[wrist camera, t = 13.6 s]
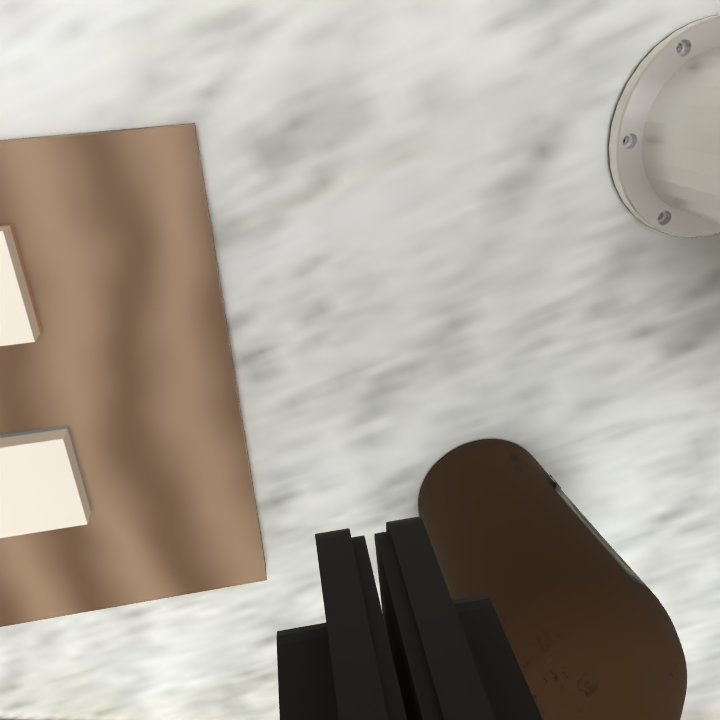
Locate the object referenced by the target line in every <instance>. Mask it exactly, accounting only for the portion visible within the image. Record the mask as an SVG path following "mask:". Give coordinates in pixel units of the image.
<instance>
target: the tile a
mask: <svg viewBox="0 0 720 720" xmlns="http://www.w3.org/2000/svg"><path fill="white" fill-rule="evenodd" d="M41 332H42V329H41V325H40V322H39V318H38V315H37V311H36V307H35V304H34V300H33V297H32V293H31V290H30V286H29V283H28V279H27V275H26V272H25V268H24V265H23V261H22V258H21V254H20V250H19V247H18V243H17V240H16V236H15V233H14V229H13V226H12V224H6V225H0V346H6V345H14V344H22V343H30V342H35V341H36V339H37V338H38V337H39V335H40V334H41Z"/></svg>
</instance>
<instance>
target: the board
mask: <svg viewBox="0 0 720 720" xmlns="http://www.w3.org/2000/svg"><path fill="white" fill-rule="evenodd" d="M6 224H12V226H13V229H14V233H15V236H16V240H17V243H18V247H19V250H20V254H21V258H22V261H23V265H24V268H25V272H26V275H27V279H28V283H29V286H30V290H31V293H32V297H33V300H34V304H35V307H36V311H37V315H38V318H39V322H40V325H41V329H42V332H41V334H40V335H39V337H38V338H37V339H36V341H35V342H30V343H22V344H14V345H6V346H0V435H4V434H11V433H18V432H25V431H32V430H39V429H46V428H53V427H60V426H67V425H69V428H70V431H71V435H72V438H73V442H74V445H75V449H76V453H77V456H78V460H79V463H80V467H81V470H82V474H83V478H84V481H85V485H86V488H87V492H88V495H89V499H90V502H91V506H92V511H91V514H90V518H89V521H88V524H86V525H80V526H74V527H67V528H61V529H55V530H49V531H42V532H36V533H30V534H24V535H17V536H11V537H5V538H0V627H2V626H8V625H14V624H20V623H25V622H31V621H37V620H42V619H48V618H54V617H59V616H65V615H71V614H77V613H82V612H88V611H94V610H99V609H105V608H111V607H116V606H122V605H128V604H134V603H139V602H145V601H151V600H156V599H162V598H168V597H173V596H179V595H185V594H190V593H196V592H202V591H208V590H213V589H219V588H225V587H230V586H236V585H242V584H247V583H253V582H259V581H265V580H267V576H266V564H265V558H264V552H263V545H262V539H261V533H260V527H259V521H258V514H257V508H256V502H255V496H254V489H253V483H252V477H251V471H250V465H249V458H248V452H247V446H246V440H245V433H244V427H243V421H242V415H241V409H240V402H239V396H238V390H237V384H236V378H235V371H234V365H233V359H232V353H231V346H230V340H229V334H228V328H227V322H226V315H225V309H224V303H223V297H222V290H221V284H220V278H219V272H218V266H217V259H216V253H215V247H214V241H213V235H212V228H211V222H210V216H209V210H208V203H207V197H206V191H205V185H204V179H203V172H202V166H201V160H200V154H199V147H198V141H197V135H196V129H195V123H191V124H180V125H168V126H157V127H146V128H134V129H123V130H112V131H100V132H89V133H78V134H66V135H55V136H44V137H32V138H21V139H10V140H0V225H6Z"/></svg>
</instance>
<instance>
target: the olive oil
mask: <svg viewBox="0 0 720 720" xmlns="http://www.w3.org/2000/svg"><path fill="white" fill-rule="evenodd" d="M549 475H550V474H549ZM549 475H548V474H547V473H546V471H545V470H544V469H543V468H542V467H541V465H540V464H539V463H538V462H537V461H536V459H535V458H534V457H533V456H532V455H531V454H530V453H529V452H527V451H526V450H525V449H523V448H522V447H520V446H518V445H516V444H514V443H511V442H507V441H502V440H482V441H476V442H472V443H469V444H466V445H464V446H461V447H459V448H457V449H455V450H453V451H452V452H450V453H449V454H447V455H446V456H445V457H443V458H442V459H441V460H440V461H439V462H438V463H437V464H436V465H435V466H434V467H433V468H432V469H431V471H430V472H429V474H428V475H427V477H426V479H425V480H424V482H423V485H422V487H421V490H420V494H419V502H418V507H419V515H420V517H421V518H422V520H423V522H424V525H425V528H426V530H427V533H428V536H429V539H430V541H431V544H432V547H433V550H434V552H435V555H436V558H437V560H438V563H439V566H440V569H441V571H442V574H443V577H444V580H445V582H446V585H447V588H448V591H449V593H450V596H451V599H452V600H455V599H461V598H466V597H472V596H478V595H483V594H486V595H487V596H488V597H489V599H490V601H491V603H492V605H493V607H494V609H495V611H496V613H497V616H498V618H499V620H500V623H501V625H502V627H503V630H504V632H505V634H506V636H507V639H508V641H509V643H510V646H511V648H512V650H513V652H514V655H515V657H516V659H517V662H518V664H519V666H520V668H521V671H522V673H523V675H524V678H525V680H526V682H527V685H528V687H529V689H530V691H531V694H532V696H533V698H534V701H535V703H536V705H537V707H538V710H539V712H540V714H541V717H542V719H543V720H680V718H681V714H682V710H683V705H684V701H685V695H686V688H687V668H686V661H685V656H684V652H683V649H682V646H681V643H680V640H679V638H678V635H677V632H676V630H675V627H674V625H673V623H672V621H671V619H670V617H669V615H668V613H667V612H666V610H665V609H664V607H663V606H662V604H661V603H660V601H659V600H658V598H657V597H656V596H655V595H654V594H653V593H652V591H651V590H650V589H649V588H648V587H647V586H646V585H645V584H644V583H643V581H642V580H641V579H640V578H639V577H638V576H637V575H636V574H635V573H634V571H633V570H632V569H631V568H630V567H629V566H628V565H627V564H626V563H625V561H624V560H623V559H622V558H621V557H620V556H619V555H618V554H617V553H616V551H615V550H614V549H613V548H612V547H611V546H610V545H609V544H608V543H607V541H606V540H605V539H604V538H603V537H602V536H601V535H600V534H599V532H598V531H597V530H596V529H595V528H594V527H593V526H592V524H591V523H590V522H589V521H588V520H587V519H586V518H585V516H584V515H583V514H582V513H581V512H580V511H579V510H578V509H577V507H576V506H575V505H574V504H573V503H572V502H571V501H570V499H569V498H568V497H567V496H566V495H565V494H564V492H563V491H562V490H561V487H560V486H559V485H558V484H557V483H556V481H555V480H554V479H553V478H552V476H551V477H550V476H549ZM551 478H552V479H553V480H554V481H555V482H554V481H553V480H552V479H551Z"/></svg>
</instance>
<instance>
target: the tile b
mask: <svg viewBox="0 0 720 720" xmlns="http://www.w3.org/2000/svg"><path fill="white" fill-rule="evenodd" d="M91 511H92V506H91V502H90V499H89V495H88V492H87V488H86V485H85V481H84V478H83V474H82V470H81V467H80V463H79V460H78V456H77V453H76V449H75V445H74V442H73V438H72V435H71V431H70V428H69V425H67V426H60V427H53V428H46V429H39V430H32V431H25V432H18V433H11V434H4V435H0V538H5V537H11V536H17V535H24V534H30V533H36V532H42V531H49V530H55V529H61V528H67V527H74V526H80V525H86V524H88V521H89V518H90V514H91Z"/></svg>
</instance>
